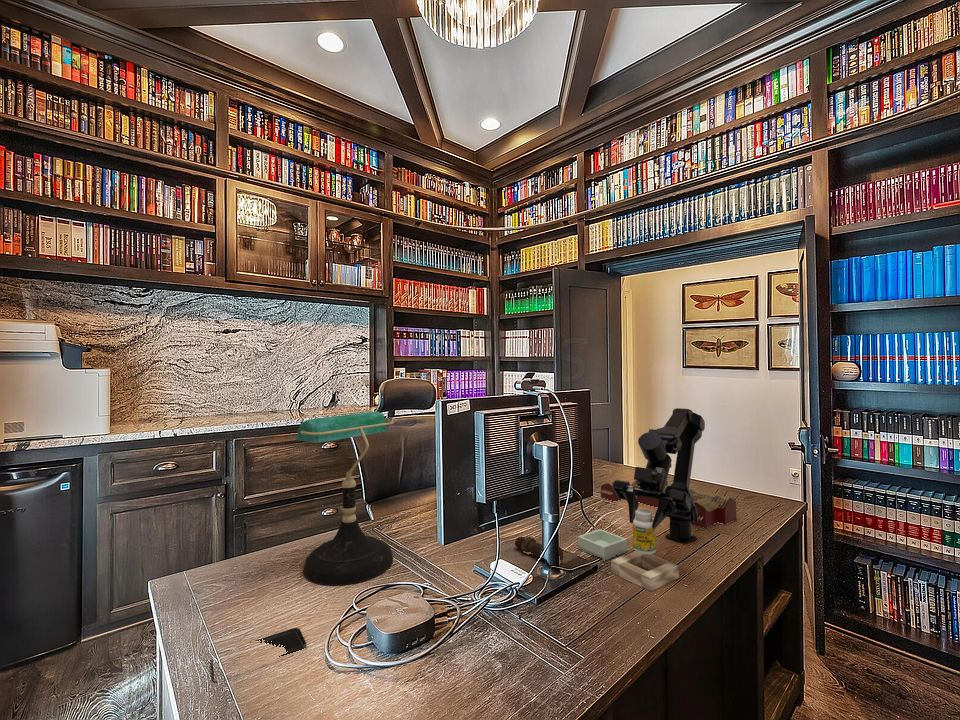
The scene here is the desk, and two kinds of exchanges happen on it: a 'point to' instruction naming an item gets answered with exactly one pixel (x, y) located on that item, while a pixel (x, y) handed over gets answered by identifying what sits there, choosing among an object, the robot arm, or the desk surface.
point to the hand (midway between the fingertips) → (641, 525)
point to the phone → (287, 640)
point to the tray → (602, 544)
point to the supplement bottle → (644, 532)
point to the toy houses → (706, 504)
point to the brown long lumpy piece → (532, 546)
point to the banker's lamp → (346, 510)
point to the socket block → (649, 580)
